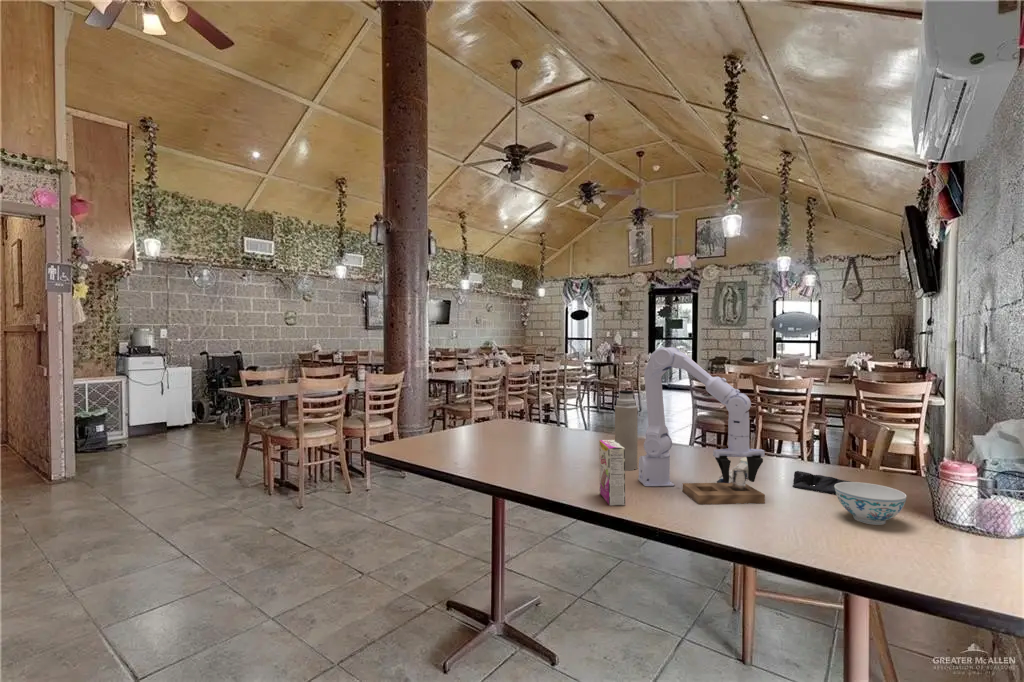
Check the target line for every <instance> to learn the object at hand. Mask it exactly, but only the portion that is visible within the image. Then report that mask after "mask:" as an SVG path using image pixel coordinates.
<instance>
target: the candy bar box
mask: <svg viewBox="0 0 1024 682" xmlns="http://www.w3.org/2000/svg"><path fill="white" fill-rule="evenodd" d="M598 441H599V442H598V444H599V447H598V448H599V449H598V450H599V452H598V453H599V494H600V496H601V497H602V498H603V499H604V501H605V502H606V503H607V505H608V506H610V507H618V506H619V507H621V506H626V470H625V448H624V447H623V446H621V445H620V444H619V443H618V442H616V441H615V439H600V440H598Z"/></svg>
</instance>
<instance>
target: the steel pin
mask: <svg viewBox="0 0 1024 682" xmlns="http://www.w3.org/2000/svg"><path fill="white" fill-rule="evenodd" d="M733 468H734V467H733ZM733 468H731V469H732V490H734V491H746V484H747V482H746V479H747V478H746V470H744V469H739V468H734V469H733Z"/></svg>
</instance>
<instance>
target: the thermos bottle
mask: <svg viewBox="0 0 1024 682" xmlns="http://www.w3.org/2000/svg"><path fill="white" fill-rule="evenodd" d="M618 393H619V394H618V395H619V396H618V399H616V405H615V406H614V440H615V441H616V442H618V443H619V444H620V445H621V446H623V447H624V448H625V471H635V470H634V469H636V470H638V405H636V403H637V402H636V399H635V398H634V391H633V390H628V389H627V390H626V389H625V390H623V389H622V390H619V392H618Z"/></svg>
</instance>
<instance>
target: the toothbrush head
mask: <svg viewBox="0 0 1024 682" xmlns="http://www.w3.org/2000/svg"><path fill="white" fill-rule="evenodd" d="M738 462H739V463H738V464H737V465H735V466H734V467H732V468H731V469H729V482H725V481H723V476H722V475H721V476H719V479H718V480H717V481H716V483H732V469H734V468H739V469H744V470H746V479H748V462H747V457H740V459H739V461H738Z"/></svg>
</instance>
